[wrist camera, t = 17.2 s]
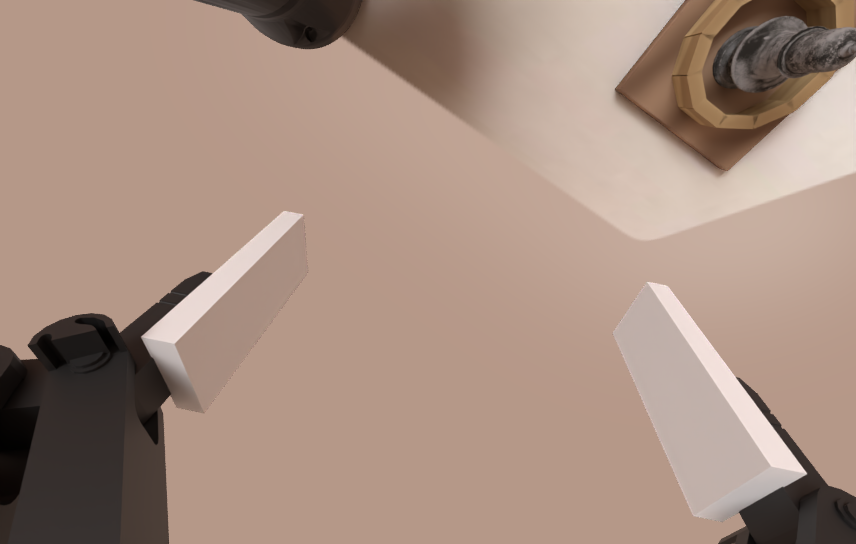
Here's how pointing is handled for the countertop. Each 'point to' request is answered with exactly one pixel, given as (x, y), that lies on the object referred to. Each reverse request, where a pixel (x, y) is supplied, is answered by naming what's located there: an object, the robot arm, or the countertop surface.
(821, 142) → the countertop surface
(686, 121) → the collar stand
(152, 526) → the robot arm
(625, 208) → the countertop surface
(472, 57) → the countertop surface
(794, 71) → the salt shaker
